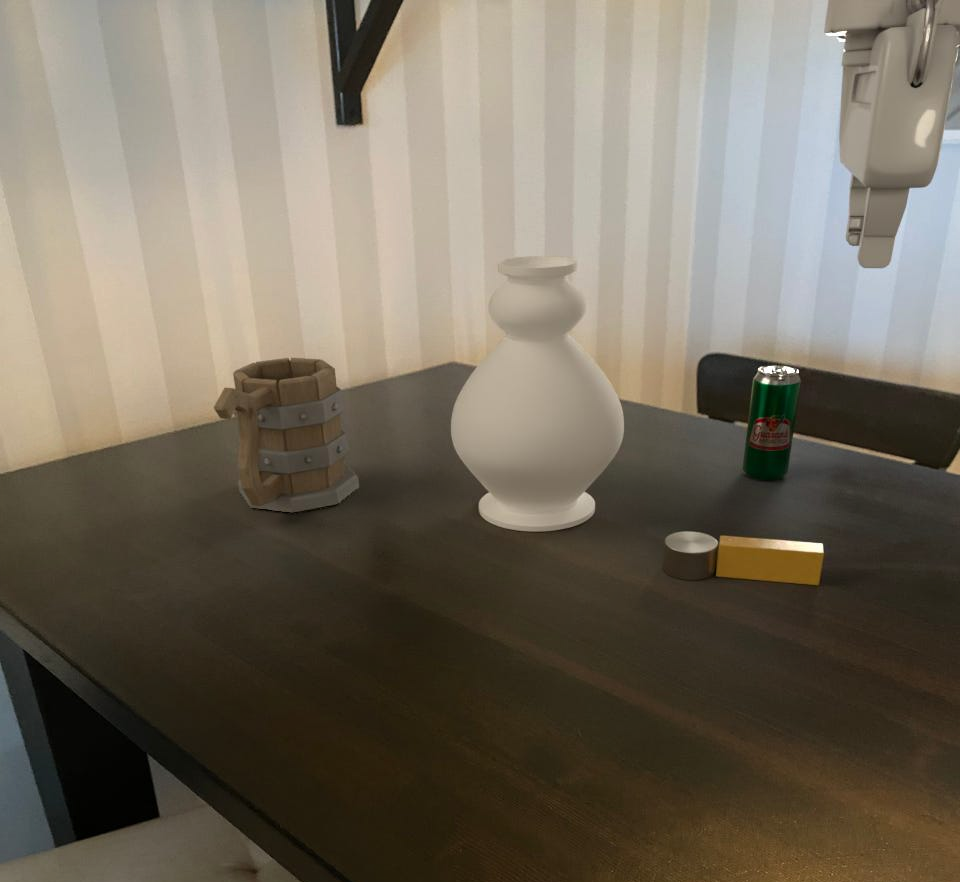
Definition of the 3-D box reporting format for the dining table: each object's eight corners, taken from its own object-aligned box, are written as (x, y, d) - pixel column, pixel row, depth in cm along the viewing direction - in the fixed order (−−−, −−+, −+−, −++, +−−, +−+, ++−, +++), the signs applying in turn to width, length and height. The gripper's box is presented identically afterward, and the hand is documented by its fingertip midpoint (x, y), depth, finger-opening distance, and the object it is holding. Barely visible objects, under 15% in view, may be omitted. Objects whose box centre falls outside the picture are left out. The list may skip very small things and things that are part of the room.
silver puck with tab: (816, 569, 86) (822, 537, 85) (819, 592, 82) (825, 559, 81) (665, 556, 90) (667, 525, 88) (660, 577, 86) (662, 546, 84)
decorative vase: (640, 491, 104) (654, 251, 92) (587, 553, 90) (596, 281, 78) (495, 471, 111) (490, 246, 98) (425, 527, 97) (410, 272, 85)
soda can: (741, 480, 106) (754, 375, 100) (741, 465, 110) (754, 363, 104) (788, 483, 105) (803, 376, 99) (786, 468, 109) (801, 364, 103)
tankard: (279, 468, 114) (261, 343, 106) (373, 478, 110) (361, 348, 103) (183, 531, 98) (154, 389, 90) (289, 545, 94) (268, 398, 87)
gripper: (1009, -26, 44) (943, 283, 51) (940, 6, 61) (898, 234, 68) (867, -18, 45) (822, 281, 52) (839, 11, 62) (807, 234, 69)
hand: (865, 255), depth 60 cm, fingers open, 8 cm apart
